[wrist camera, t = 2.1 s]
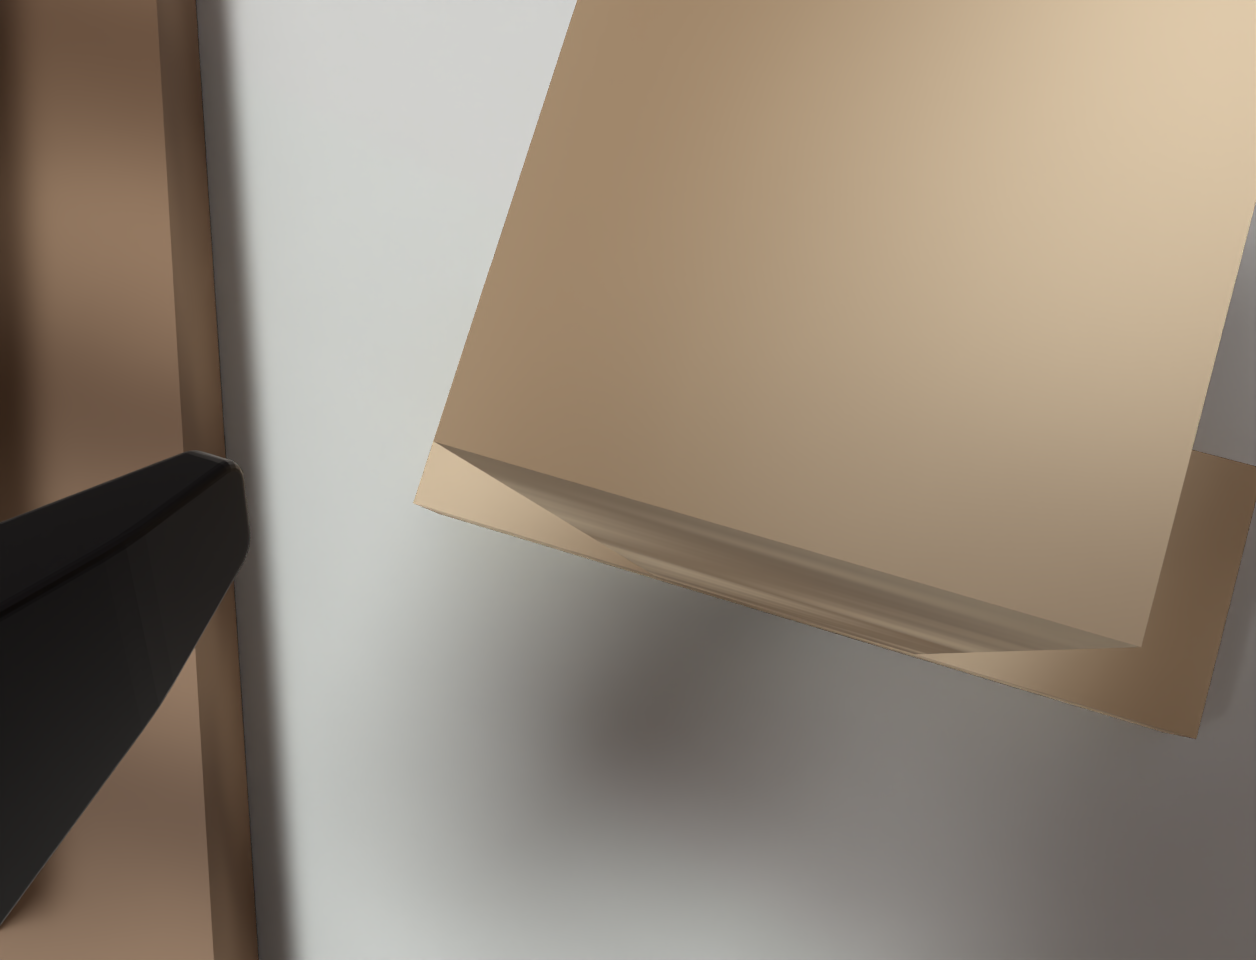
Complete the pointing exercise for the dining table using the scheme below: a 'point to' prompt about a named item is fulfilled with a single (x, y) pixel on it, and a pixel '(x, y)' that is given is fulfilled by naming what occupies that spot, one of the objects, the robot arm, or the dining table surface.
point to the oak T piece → (884, 327)
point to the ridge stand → (121, 443)
